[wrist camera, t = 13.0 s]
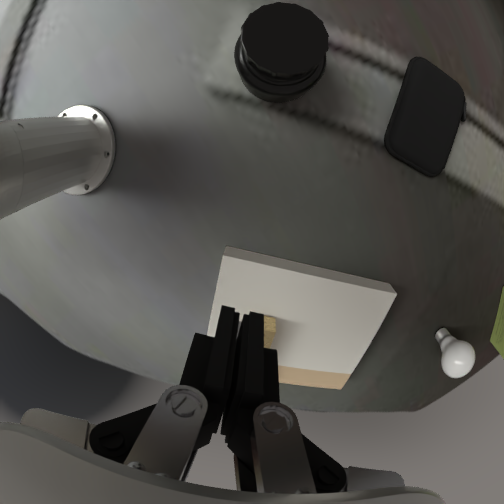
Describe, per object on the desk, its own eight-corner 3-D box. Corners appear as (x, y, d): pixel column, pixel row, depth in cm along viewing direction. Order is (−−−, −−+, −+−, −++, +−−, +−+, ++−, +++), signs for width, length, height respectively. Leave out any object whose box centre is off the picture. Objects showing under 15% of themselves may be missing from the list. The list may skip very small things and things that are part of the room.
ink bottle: (308, 31, 25) (329, -12, 14) (326, 96, 29) (359, 79, 18) (227, 45, 27) (210, 5, 16) (245, 111, 30) (235, 98, 19)
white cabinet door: (204, 355, 45) (197, 383, 39) (226, 245, 37) (219, 268, 31) (338, 376, 46) (344, 404, 40) (389, 283, 38) (406, 308, 32)
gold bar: (254, 378, 42) (254, 393, 39) (234, 375, 42) (233, 389, 39) (278, 318, 37) (279, 333, 34) (254, 313, 37) (253, 327, 34)
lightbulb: (420, 333, 42) (446, 376, 32) (448, 311, 40) (478, 350, 30) (430, 349, 44) (454, 390, 34) (456, 329, 42) (483, 367, 32)
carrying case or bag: (436, 182, 32) (464, 94, 26) (448, 187, 29) (477, 94, 24) (375, 147, 31) (407, 53, 25) (385, 149, 28) (418, 48, 23)
